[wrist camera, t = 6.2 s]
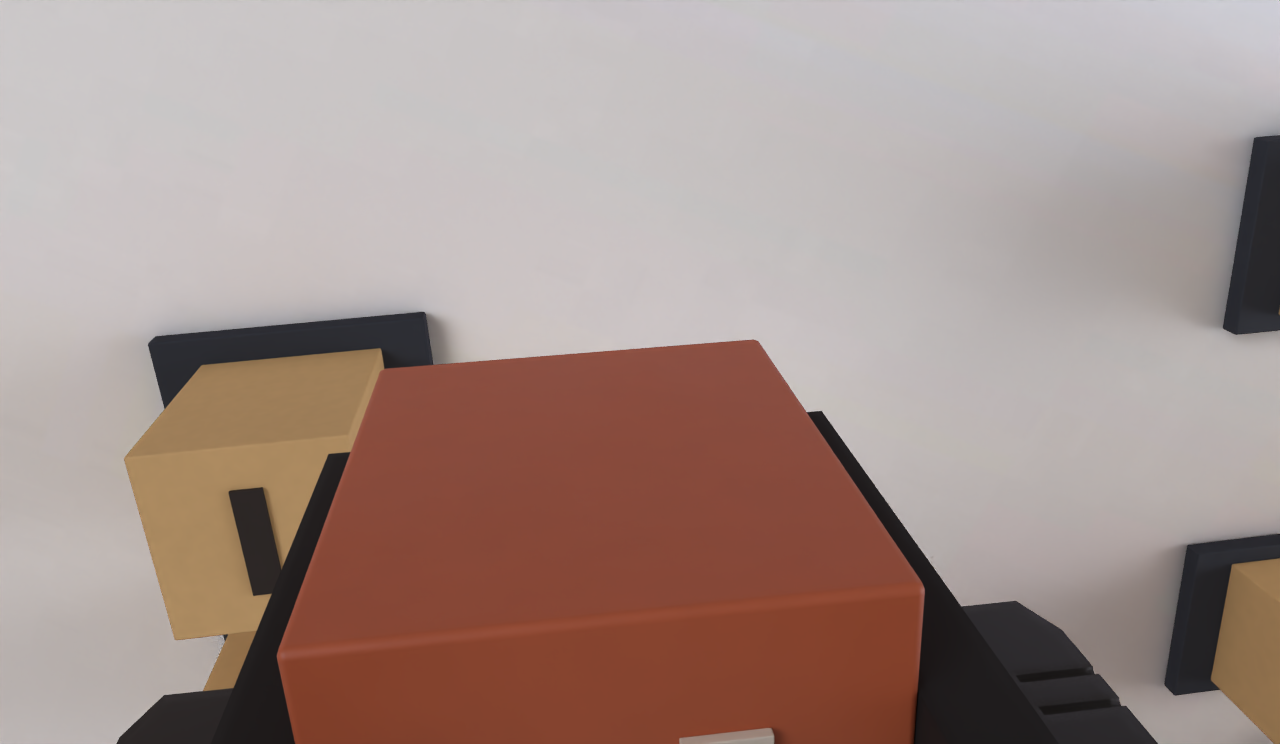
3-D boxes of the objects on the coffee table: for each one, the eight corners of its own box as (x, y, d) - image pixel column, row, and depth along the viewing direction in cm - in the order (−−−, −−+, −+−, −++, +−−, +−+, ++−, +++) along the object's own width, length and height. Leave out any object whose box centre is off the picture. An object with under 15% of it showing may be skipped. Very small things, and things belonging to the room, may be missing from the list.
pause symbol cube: (379, 366, 12) (267, 661, 7) (758, 337, 12) (935, 593, 7) (425, 681, 13) (366, 1116, 8) (758, 647, 14) (901, 1040, 9)
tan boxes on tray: (154, 335, 26) (50, 435, 20) (425, 310, 26) (399, 401, 21) (252, 719, 30) (190, 888, 25) (481, 690, 31) (473, 849, 25)
